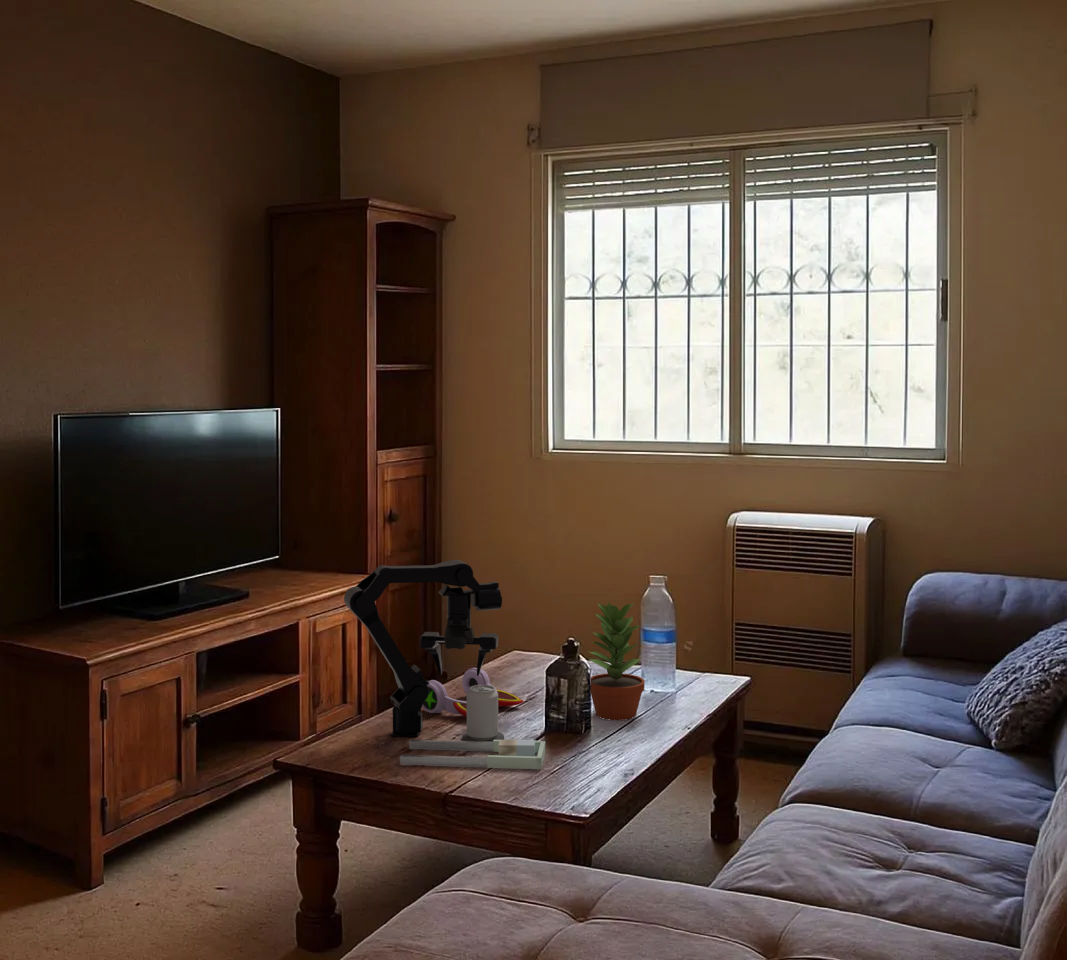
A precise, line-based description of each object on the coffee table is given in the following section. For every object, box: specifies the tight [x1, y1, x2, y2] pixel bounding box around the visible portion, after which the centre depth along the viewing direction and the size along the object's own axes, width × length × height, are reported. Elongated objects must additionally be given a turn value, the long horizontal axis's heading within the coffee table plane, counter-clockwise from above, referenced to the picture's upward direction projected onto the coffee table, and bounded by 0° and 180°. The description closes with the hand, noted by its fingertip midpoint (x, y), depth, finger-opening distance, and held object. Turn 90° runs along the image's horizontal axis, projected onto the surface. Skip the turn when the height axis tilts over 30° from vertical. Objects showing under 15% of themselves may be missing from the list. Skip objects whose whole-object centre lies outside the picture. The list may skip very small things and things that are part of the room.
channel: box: [399, 739, 493, 769], centre depth 268 cm, size 20×12×2 cm, turn 85°
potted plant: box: [587, 601, 645, 721], centre depth 300 cm, size 15×15×30 cm
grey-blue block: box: [516, 739, 536, 757], centre depth 267 cm, size 4×4×4 cm
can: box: [466, 684, 499, 740], centre depth 281 cm, size 8×8×12 cm
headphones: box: [421, 667, 525, 718], centre depth 306 cm, size 20×10×20 cm
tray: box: [486, 740, 546, 770], centre depth 267 cm, size 12×12×2 cm
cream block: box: [498, 739, 518, 756], centre depth 267 cm, size 4×4×4 cm
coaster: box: [461, 731, 505, 742], centre depth 281 cm, size 10×10×1 cm
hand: (459, 675), depth 290 cm, fingers open, 9 cm apart
